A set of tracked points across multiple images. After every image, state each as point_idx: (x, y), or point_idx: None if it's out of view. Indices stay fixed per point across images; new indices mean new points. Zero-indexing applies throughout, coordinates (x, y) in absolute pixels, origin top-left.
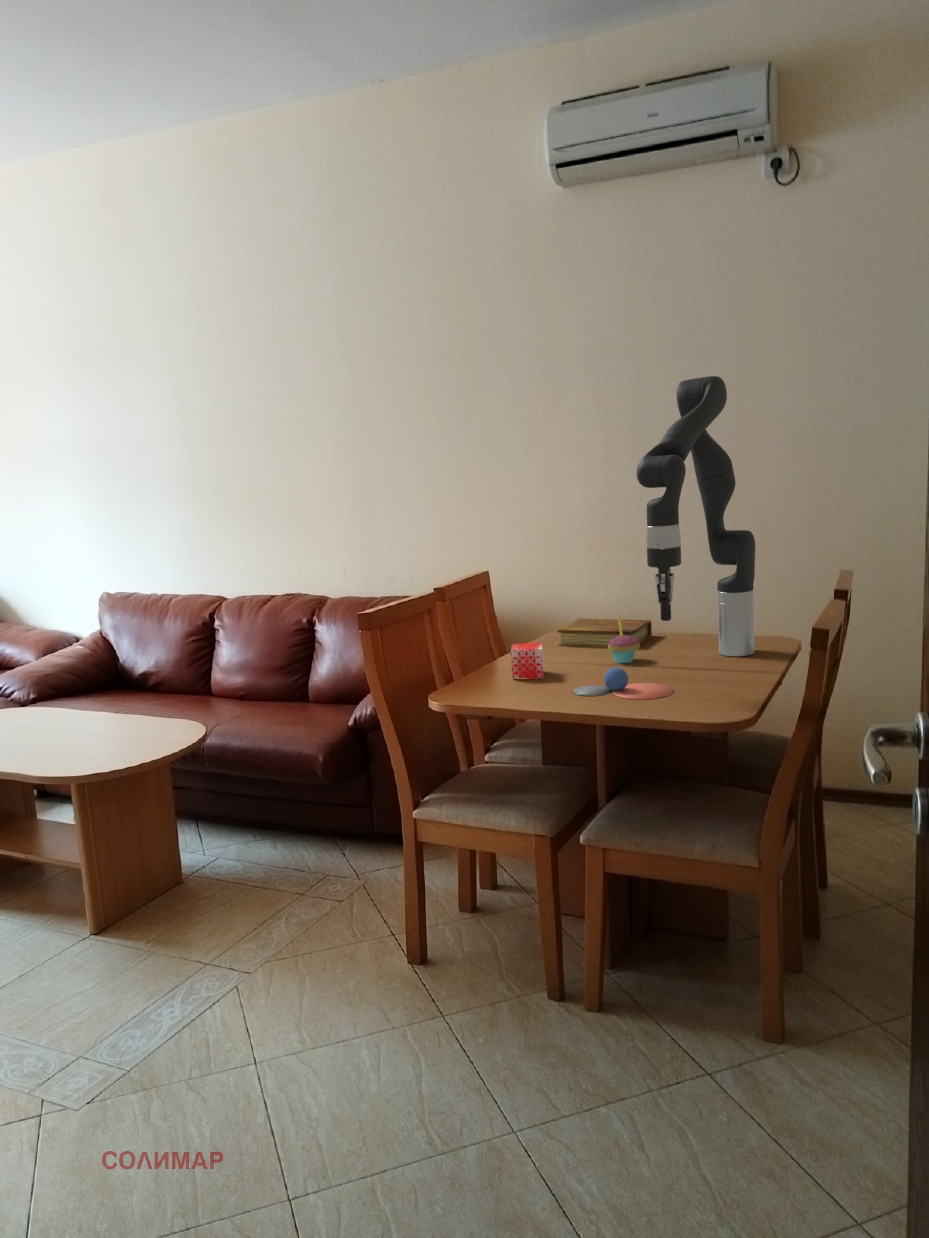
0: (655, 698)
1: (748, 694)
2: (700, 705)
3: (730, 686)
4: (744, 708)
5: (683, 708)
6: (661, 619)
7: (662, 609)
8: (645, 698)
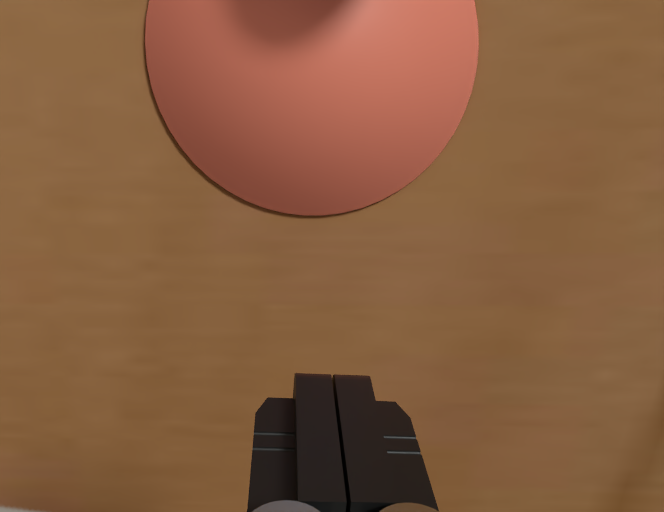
0: (170, 129)
1: None
2: (68, 330)
3: None
4: (42, 481)
5: (7, 261)
6: (296, 377)
7: (250, 480)
8: (153, 77)
